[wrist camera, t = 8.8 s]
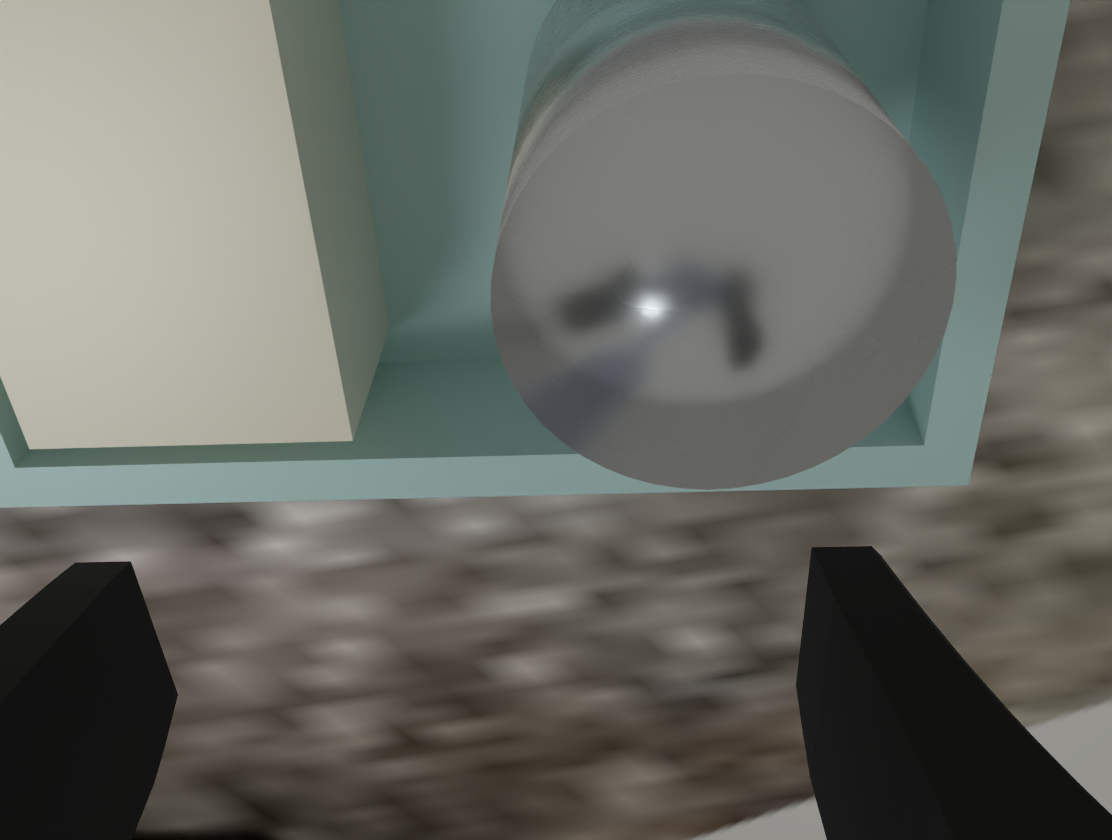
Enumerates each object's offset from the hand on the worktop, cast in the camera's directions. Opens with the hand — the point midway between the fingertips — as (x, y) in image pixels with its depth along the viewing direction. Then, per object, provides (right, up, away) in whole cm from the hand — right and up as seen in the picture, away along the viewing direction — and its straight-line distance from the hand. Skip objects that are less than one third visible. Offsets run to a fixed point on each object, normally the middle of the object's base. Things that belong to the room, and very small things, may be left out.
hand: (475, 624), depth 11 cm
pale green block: (-5, +7, +5) cm, 10 cm away
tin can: (+3, +7, +5) cm, 9 cm away
